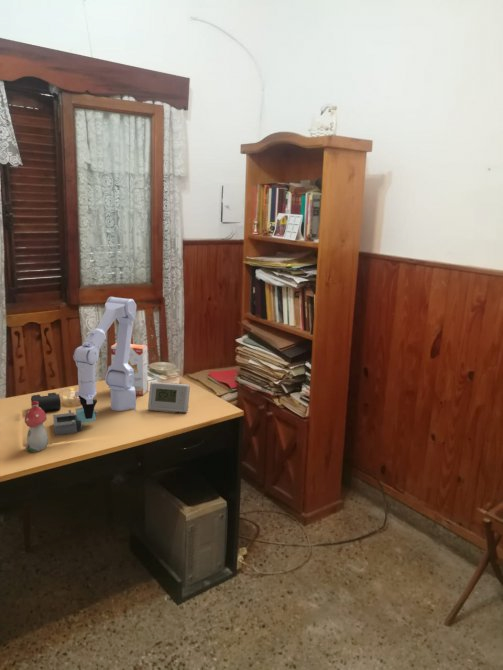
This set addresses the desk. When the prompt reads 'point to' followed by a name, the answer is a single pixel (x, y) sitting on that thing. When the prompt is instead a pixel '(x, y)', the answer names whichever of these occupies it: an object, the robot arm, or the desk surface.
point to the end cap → (48, 402)
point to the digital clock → (168, 397)
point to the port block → (66, 424)
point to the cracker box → (136, 366)
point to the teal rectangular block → (81, 415)
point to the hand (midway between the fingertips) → (88, 416)
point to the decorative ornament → (36, 428)
